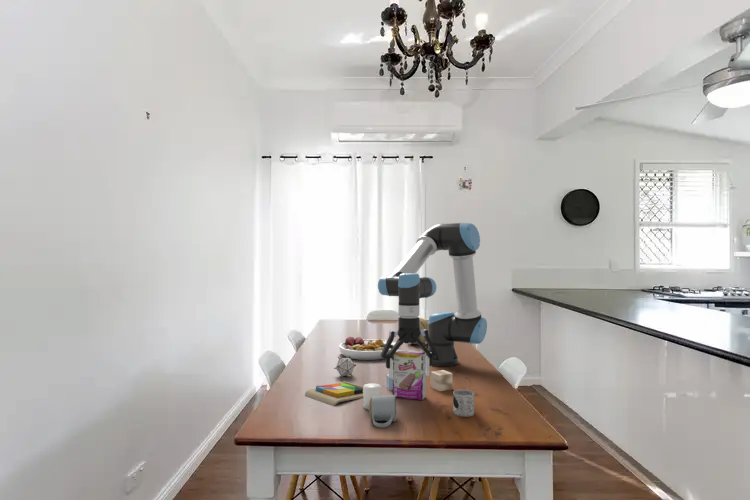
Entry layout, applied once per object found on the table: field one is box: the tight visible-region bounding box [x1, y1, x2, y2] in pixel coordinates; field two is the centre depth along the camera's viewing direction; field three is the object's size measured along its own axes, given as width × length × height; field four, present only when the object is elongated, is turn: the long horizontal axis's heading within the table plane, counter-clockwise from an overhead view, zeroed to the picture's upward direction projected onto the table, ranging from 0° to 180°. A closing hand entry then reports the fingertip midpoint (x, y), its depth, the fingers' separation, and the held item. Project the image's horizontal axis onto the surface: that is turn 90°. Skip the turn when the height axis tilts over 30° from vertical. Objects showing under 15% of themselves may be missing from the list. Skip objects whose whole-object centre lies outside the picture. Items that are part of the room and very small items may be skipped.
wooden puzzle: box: [304, 380, 363, 407], centre depth 174 cm, size 18×19×4 cm
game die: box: [333, 356, 357, 379], centre depth 199 cm, size 9×8×10 cm
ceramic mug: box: [368, 394, 397, 429], centre depth 146 cm, size 11×8×8 cm
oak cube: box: [429, 369, 454, 392], centre depth 181 cm, size 6×6×6 cm
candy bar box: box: [392, 349, 427, 401], centre depth 170 cm, size 11×5×16 cm, turn 71°
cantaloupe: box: [412, 317, 429, 345], centre depth 264 cm, size 15×15×15 cm
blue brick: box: [385, 373, 393, 391], centre depth 182 cm, size 8×4×5 cm, turn 102°
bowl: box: [339, 336, 400, 361], centre depth 240 cm, size 30×30×8 cm
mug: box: [452, 389, 475, 418], centre depth 152 cm, size 10×7×7 cm
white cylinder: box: [362, 382, 382, 411], centre depth 160 cm, size 6×6×7 cm
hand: (409, 376), depth 170 cm, fingers open, 13 cm apart
